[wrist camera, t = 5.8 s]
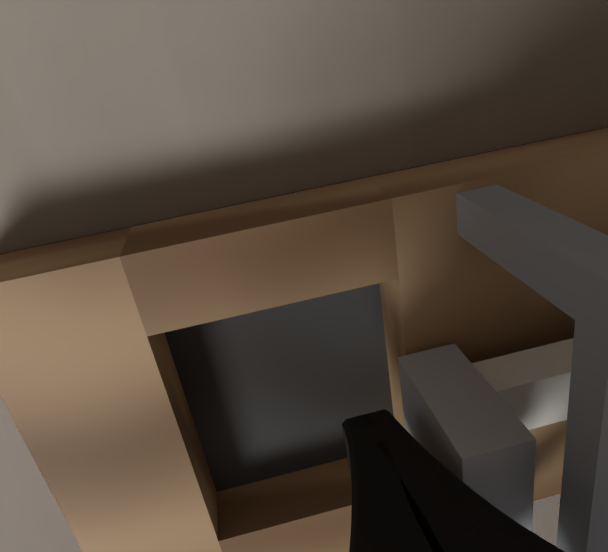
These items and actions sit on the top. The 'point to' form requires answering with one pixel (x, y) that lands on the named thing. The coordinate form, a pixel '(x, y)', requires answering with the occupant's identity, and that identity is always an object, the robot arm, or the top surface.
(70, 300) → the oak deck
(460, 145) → the top surface
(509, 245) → the grey tunnel
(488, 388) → the sliding frame
